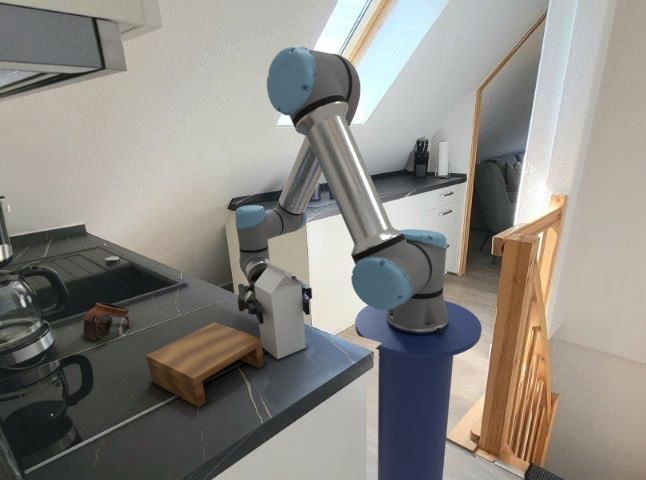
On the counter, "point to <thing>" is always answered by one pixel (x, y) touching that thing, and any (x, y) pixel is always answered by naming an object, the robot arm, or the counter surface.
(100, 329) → the pottery mug
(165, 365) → the oak shelf
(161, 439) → the counter surface
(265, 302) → the milk carton
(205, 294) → the counter surface
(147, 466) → the counter surface
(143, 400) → the counter surface
